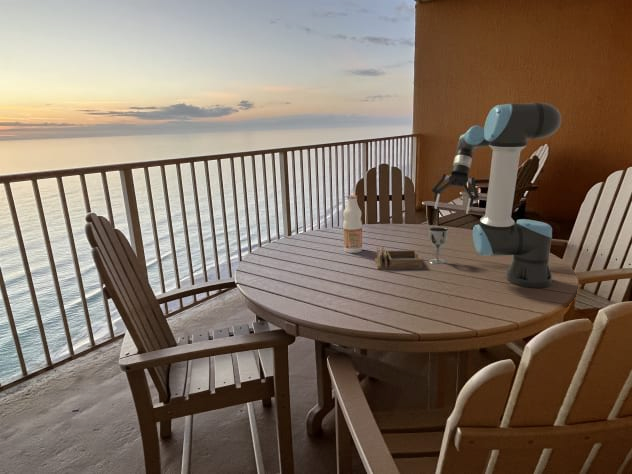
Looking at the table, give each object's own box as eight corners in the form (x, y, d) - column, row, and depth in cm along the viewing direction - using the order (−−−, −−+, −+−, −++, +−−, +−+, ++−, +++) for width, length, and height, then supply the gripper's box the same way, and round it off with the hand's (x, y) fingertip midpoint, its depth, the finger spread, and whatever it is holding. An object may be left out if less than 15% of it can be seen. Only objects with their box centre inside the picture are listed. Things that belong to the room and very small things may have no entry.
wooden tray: (422, 268, 163) (422, 255, 161) (378, 269, 164) (378, 256, 162) (415, 258, 176) (416, 246, 175) (374, 259, 178) (374, 247, 176)
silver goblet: (444, 258, 175) (445, 227, 171) (448, 264, 167) (450, 231, 163) (426, 258, 175) (427, 227, 172) (429, 264, 168) (431, 231, 164)
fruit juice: (339, 250, 193) (338, 196, 186) (352, 246, 199) (351, 193, 192) (353, 254, 186) (353, 197, 179) (366, 250, 192) (365, 195, 185)
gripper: (490, 173, 172) (480, 217, 169) (434, 167, 183) (424, 208, 179) (490, 166, 166) (480, 212, 162) (432, 160, 176) (422, 203, 173)
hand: (450, 210), depth 171 cm, fingers open, 13 cm apart
